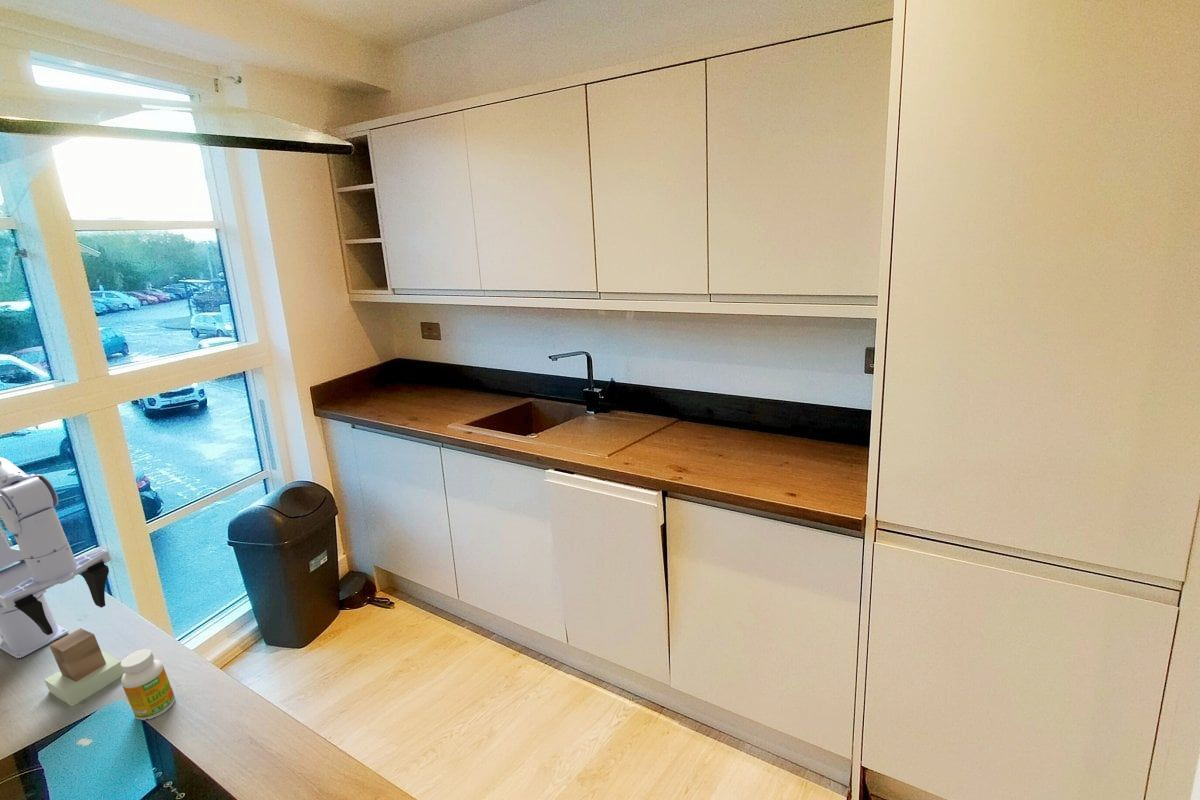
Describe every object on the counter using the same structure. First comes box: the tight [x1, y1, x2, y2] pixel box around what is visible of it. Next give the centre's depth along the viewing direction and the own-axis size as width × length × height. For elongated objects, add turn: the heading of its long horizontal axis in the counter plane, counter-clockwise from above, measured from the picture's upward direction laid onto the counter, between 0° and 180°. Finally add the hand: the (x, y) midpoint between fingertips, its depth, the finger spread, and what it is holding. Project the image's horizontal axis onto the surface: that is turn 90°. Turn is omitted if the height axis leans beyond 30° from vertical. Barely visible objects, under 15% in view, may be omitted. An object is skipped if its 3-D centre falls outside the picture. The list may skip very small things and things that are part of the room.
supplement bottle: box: [120, 648, 176, 721], centre depth 97 cm, size 5×5×10 cm
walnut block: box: [48, 628, 106, 682], centre depth 104 cm, size 4×4×6 cm
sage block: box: [43, 649, 124, 707], centre depth 106 cm, size 8×8×3 cm
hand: (75, 618), depth 106 cm, fingers open, 7 cm apart
